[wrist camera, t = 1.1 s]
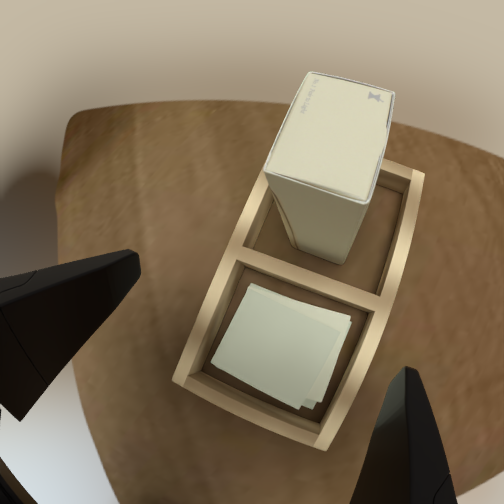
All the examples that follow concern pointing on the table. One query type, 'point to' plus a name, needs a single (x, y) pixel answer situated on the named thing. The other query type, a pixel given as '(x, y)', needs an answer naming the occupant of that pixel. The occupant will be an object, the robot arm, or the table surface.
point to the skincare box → (329, 162)
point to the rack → (375, 305)
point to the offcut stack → (282, 346)
